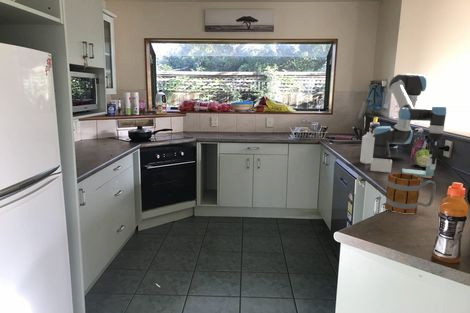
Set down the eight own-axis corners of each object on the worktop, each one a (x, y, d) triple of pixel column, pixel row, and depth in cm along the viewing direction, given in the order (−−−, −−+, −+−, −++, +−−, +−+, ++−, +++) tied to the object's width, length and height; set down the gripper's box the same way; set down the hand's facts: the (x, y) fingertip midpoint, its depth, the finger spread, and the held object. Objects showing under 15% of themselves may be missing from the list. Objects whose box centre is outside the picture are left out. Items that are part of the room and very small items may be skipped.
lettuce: (412, 168, 231) (414, 152, 229) (413, 163, 249) (415, 147, 247) (432, 171, 226) (434, 154, 224) (431, 165, 244) (434, 149, 242)
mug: (388, 213, 148) (392, 179, 145) (381, 203, 161) (384, 171, 158) (438, 217, 145) (443, 182, 142) (427, 206, 158) (431, 174, 155)
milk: (367, 162, 248) (370, 131, 244) (372, 164, 242) (375, 133, 238) (359, 162, 247) (362, 131, 243) (364, 164, 241) (367, 133, 237)
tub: (370, 168, 230) (372, 157, 229) (390, 170, 226) (391, 159, 224) (370, 171, 221) (371, 160, 220) (390, 173, 217) (391, 162, 215)
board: (403, 171, 224) (403, 170, 224) (429, 174, 218) (430, 172, 218) (404, 175, 214) (404, 173, 214) (431, 178, 208) (431, 176, 208)
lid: (401, 170, 224) (403, 160, 223) (431, 173, 217) (433, 163, 216) (402, 173, 214) (403, 164, 213) (433, 177, 207) (435, 167, 206)
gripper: (426, 129, 220) (422, 162, 225) (430, 134, 198) (426, 170, 202) (440, 130, 217) (435, 163, 222) (446, 135, 195) (440, 172, 199)
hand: (431, 167), depth 212 cm, fingers open, 13 cm apart
